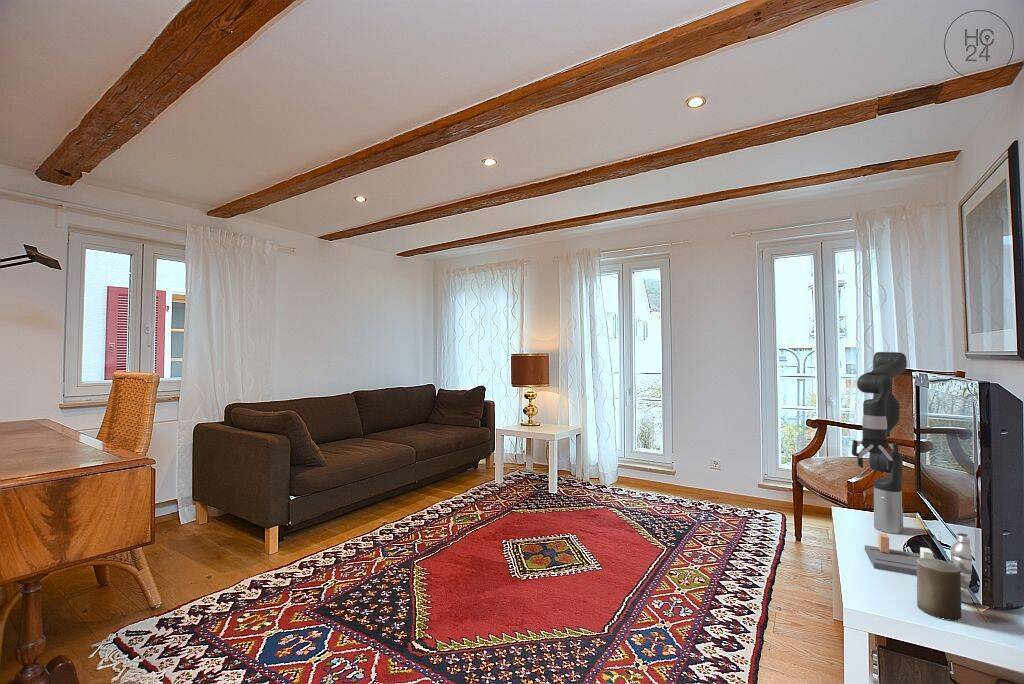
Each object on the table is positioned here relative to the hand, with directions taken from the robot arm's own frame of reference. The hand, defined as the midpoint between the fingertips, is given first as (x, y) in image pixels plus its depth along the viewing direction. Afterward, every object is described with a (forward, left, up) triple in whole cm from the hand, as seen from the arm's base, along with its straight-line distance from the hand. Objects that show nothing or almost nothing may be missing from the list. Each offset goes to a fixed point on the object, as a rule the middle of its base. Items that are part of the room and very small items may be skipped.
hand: (874, 468), depth 181 cm
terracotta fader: (+6, +7, -28) cm, 29 cm away
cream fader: (+6, +21, -28) cm, 35 cm away
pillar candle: (+28, +37, -30) cm, 55 cm away
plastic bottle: (+14, +36, -30) cm, 49 cm away
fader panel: (+6, +14, -30) cm, 34 cm away
